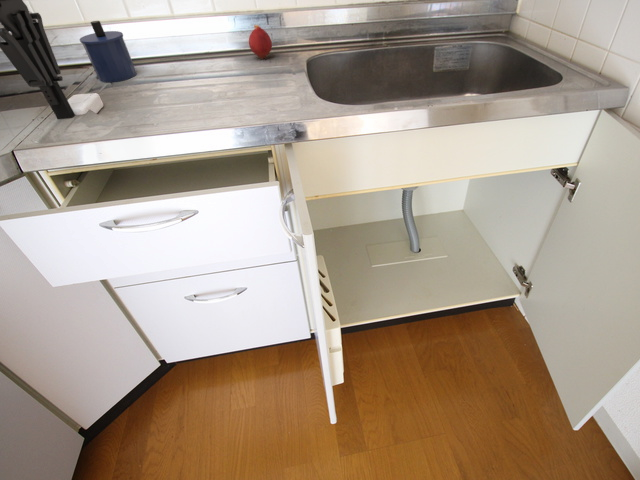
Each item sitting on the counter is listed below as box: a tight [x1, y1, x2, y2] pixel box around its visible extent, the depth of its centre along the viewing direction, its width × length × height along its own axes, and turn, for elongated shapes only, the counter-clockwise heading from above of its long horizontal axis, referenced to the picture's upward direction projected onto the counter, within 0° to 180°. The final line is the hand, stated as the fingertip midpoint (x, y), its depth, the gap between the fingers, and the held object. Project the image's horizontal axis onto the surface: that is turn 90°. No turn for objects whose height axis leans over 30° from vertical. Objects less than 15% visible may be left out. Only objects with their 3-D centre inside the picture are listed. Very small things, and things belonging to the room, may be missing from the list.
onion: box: [248, 24, 273, 60], centre depth 102 cm, size 6×6×8 cm
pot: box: [81, 36, 137, 83], centre depth 96 cm, size 9×9×8 cm
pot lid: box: [79, 20, 124, 45], centre depth 92 cm, size 9×9×4 cm
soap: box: [67, 92, 104, 116], centre depth 80 cm, size 9×6×3 cm, turn 6°
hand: (67, 118), depth 76 cm, fingers closed
